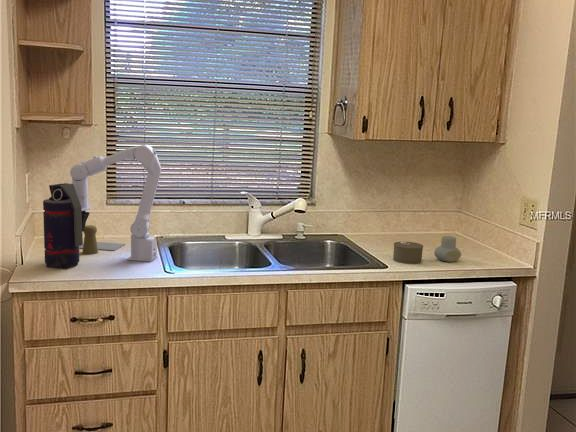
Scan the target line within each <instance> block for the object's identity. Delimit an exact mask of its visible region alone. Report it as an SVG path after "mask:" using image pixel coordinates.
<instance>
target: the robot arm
mask: <svg viewBox="0 0 576 432" xmlns="http://www.w3.org/2000/svg"><path fill="white" fill-rule="evenodd" d="M124 160H131V161H133V160H136V161H137V162H138V163H140V164H141V165H142V166H143V167H144V168H145V170H146V171H147V175H146V179H145V183H144V187H143V190H142V194H141V198H140V201H139V206H138V210H137V213H136V216H135V218H134V219H135V220H134V222H133V223H132V224H131V226H130V232H131V234H130V256H129V257H128V258H127V261H138V262H139V261H140V262H152V261H154V260H155V259H156V258H158V256H157V252H158V251H157V249H158V248H157V243H158V242H157V241H158V240H157V237H154V236H151V234H150V232H149V230H150V229H151V222H150V218H151V211H152V208H153V204H154V201H155V196H156V194H157V193H156V192H157V189H158V184H159V181H160V177H161V173H162V165H161V163H160V160H159V157H158V155H157V152H156V150H155V149H154V148H153V146H151V145H150V144H141V145H139V146H138V145H137V146H132V147H128V148H126V149H123V150H121V151H117V152H115V153H113V154H111V155H109V156H106V157H103V156H102V155H99V156H97V155H95V156H94V155H93V156H92V158H91V159H88V160H86V161H84V160H83V161H80V163H79V164H75V165H73V166H72V167H70V171H69V175H70V177H71V184H74V187H75V190H76V194H77V197H78V199H79V202H80V204H81V208H82V233H84V232H83V231H84V229H85V226H86V225H87V224H86V223H87V220H88V218H89V216H90V214H91V213H90V211H91V210H92V209H91V208H92V207H91V204H89V187H88V186H89V185H88V177H92V176H94V175H97V174H100V173H102V172H104V171H107V169H108V166H111V165H113V164H115V163H116V164H117V163H119V162H122V161H124Z"/></svg>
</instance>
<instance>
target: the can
mask: <svg viewBox="0 0 576 432" xmlns="http://www.w3.org/2000/svg"><path fill="white" fill-rule="evenodd" d="M423 248H424V245H423V244H422V243H419V242H412V241H395V242H394V243H393V257H392V261H394V262H397V263H399V264H406V265H418V264H419V265H420V264H421V263H422V258H423Z"/></svg>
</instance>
